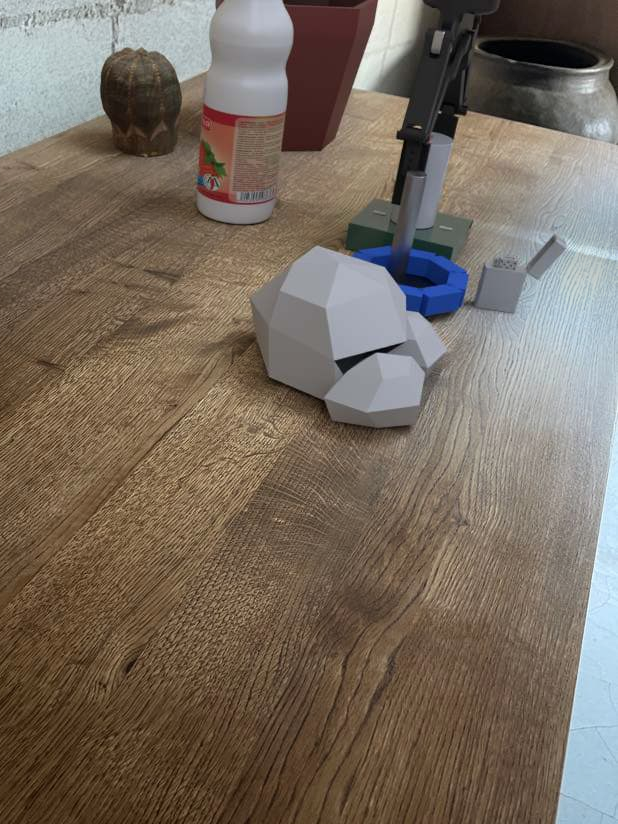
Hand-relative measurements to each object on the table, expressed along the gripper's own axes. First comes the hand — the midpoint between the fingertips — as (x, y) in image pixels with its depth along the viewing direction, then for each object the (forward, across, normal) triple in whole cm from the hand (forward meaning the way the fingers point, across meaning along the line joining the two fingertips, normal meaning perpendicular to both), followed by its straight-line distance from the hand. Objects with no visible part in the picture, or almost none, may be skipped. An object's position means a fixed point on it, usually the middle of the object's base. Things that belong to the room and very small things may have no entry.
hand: (419, 189), depth 102 cm
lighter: (+7, -10, -14) cm, 18 cm away
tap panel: (+7, 0, 0) cm, 7 cm away
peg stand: (+7, -13, -2) cm, 15 cm away
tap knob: (+4, 0, 0) cm, 4 cm away
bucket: (+7, +32, +28) cm, 43 cm away
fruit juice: (+7, -2, +21) cm, 22 cm away
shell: (+7, +13, +42) cm, 44 cm away
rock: (+7, -34, -3) cm, 35 cm away
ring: (+6, -14, -4) cm, 16 cm away
